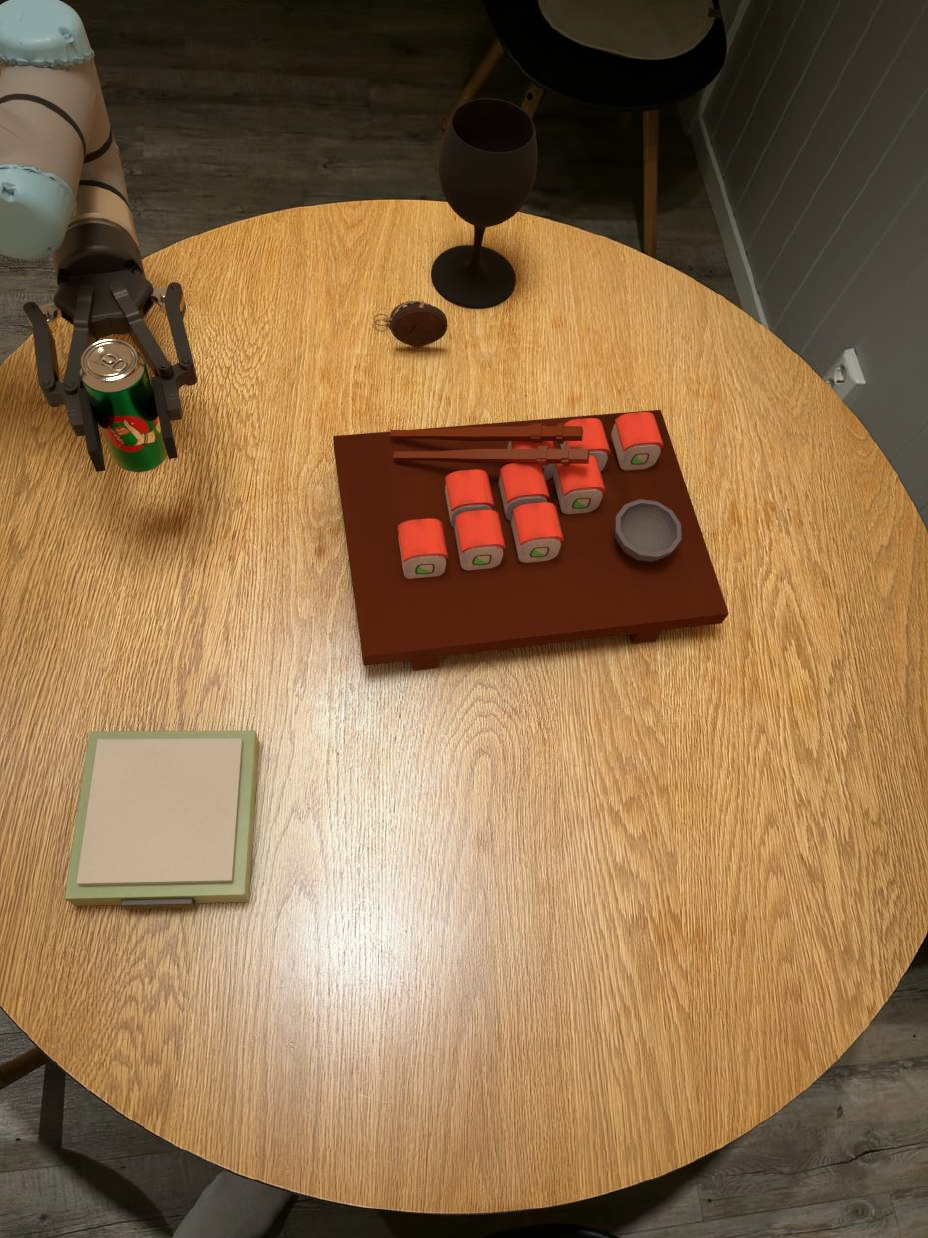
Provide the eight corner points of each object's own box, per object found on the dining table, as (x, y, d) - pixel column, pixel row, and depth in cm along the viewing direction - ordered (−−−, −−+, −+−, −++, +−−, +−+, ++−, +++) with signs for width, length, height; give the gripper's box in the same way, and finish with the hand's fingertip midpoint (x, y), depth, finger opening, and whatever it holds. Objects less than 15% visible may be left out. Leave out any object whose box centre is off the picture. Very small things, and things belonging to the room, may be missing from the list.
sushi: (334, 462, 99) (330, 385, 88) (649, 436, 104) (681, 360, 94) (363, 677, 88) (363, 618, 77) (713, 634, 94) (757, 574, 83)
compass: (440, 305, 111) (444, 256, 104) (444, 357, 107) (449, 309, 101) (372, 304, 110) (372, 255, 103) (374, 356, 106) (374, 308, 100)
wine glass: (412, 270, 113) (421, 116, 95) (476, 234, 117) (495, 79, 99) (470, 322, 110) (490, 172, 92) (533, 283, 114) (564, 133, 96)
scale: (73, 912, 76) (60, 903, 73) (98, 743, 83) (86, 727, 79) (248, 908, 78) (243, 899, 74) (259, 742, 84) (254, 727, 81)
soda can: (137, 421, 85) (104, 325, 75) (182, 447, 84) (156, 352, 74) (99, 459, 83) (61, 364, 72) (146, 485, 82) (113, 394, 72)
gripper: (203, 271, 91) (251, 462, 81) (5, 298, 87) (30, 502, 77) (191, 205, 84) (241, 405, 74) (-24, 232, 80) (-1, 446, 70)
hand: (134, 454), depth 76 cm, fingers closed on soda can, 5 cm apart
